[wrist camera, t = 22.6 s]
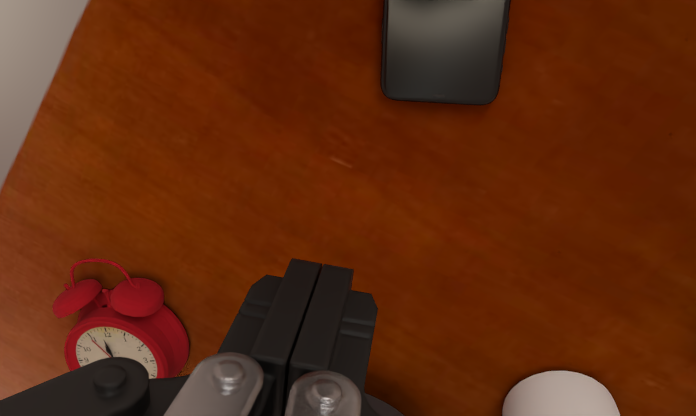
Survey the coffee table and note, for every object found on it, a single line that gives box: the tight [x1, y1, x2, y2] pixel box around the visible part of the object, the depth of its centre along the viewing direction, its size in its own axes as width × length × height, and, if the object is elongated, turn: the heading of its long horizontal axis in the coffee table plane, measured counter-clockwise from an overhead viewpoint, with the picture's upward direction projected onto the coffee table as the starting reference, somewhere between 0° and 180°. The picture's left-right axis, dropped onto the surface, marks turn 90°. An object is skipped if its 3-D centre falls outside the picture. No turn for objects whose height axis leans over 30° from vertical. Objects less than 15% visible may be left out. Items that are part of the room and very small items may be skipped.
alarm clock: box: [53, 259, 189, 379], centre depth 53 cm, size 10×6×15 cm
